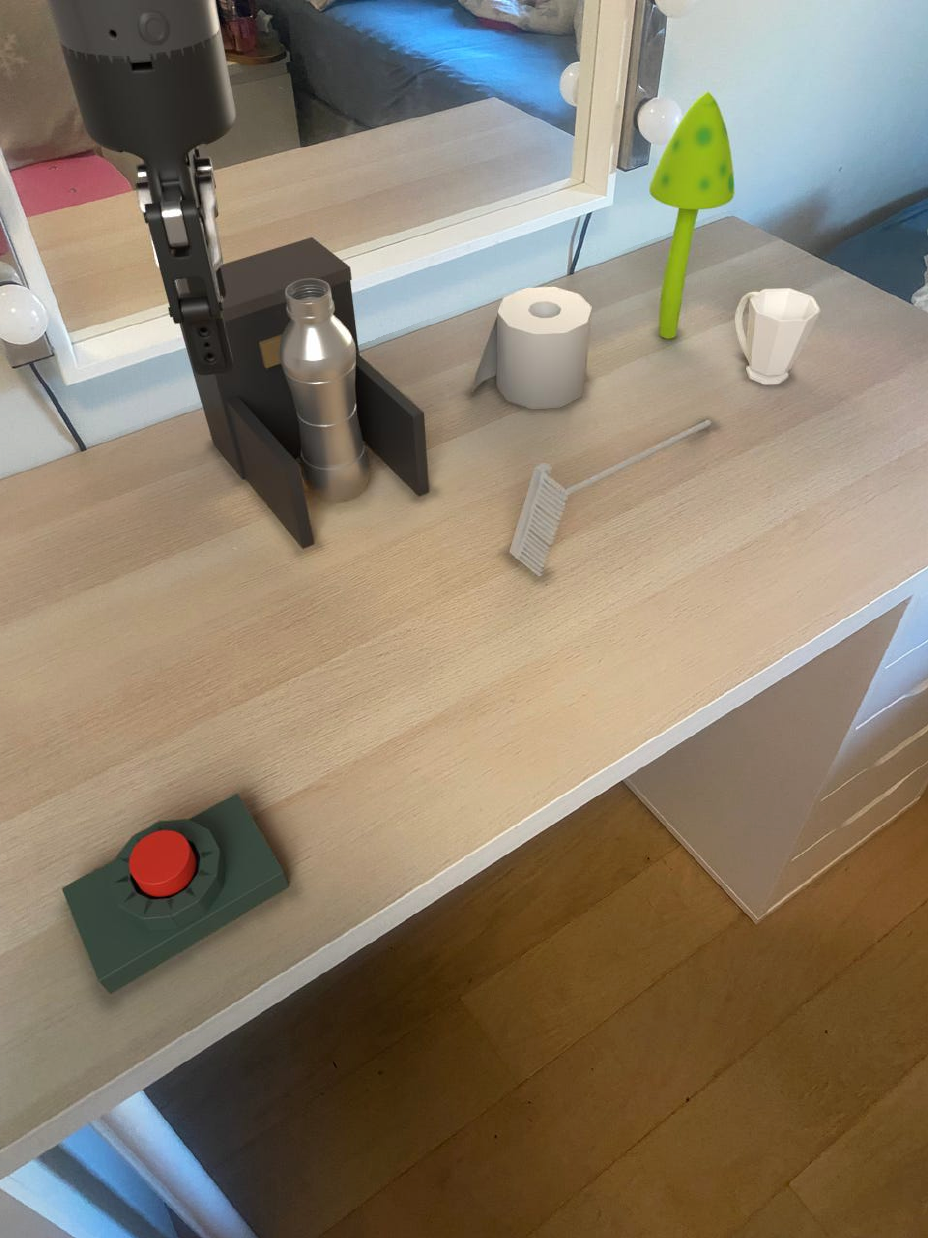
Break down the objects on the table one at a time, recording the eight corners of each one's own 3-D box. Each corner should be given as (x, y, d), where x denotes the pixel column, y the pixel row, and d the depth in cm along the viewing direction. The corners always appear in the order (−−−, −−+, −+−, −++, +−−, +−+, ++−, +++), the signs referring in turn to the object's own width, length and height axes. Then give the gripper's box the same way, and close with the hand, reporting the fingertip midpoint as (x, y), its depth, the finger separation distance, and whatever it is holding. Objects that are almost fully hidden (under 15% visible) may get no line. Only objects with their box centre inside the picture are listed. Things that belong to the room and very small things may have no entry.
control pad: (110, 995, 54) (88, 970, 51) (73, 903, 58) (50, 875, 55) (289, 887, 58) (278, 858, 55) (243, 809, 62) (231, 778, 59)
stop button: (149, 908, 53) (141, 895, 52) (128, 862, 55) (120, 849, 54) (205, 876, 55) (198, 863, 53) (183, 833, 57) (175, 819, 55)
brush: (716, 478, 92) (754, 400, 85) (538, 578, 76) (568, 492, 70) (688, 458, 94) (723, 380, 87) (508, 552, 78) (534, 466, 71)
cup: (759, 398, 93) (778, 328, 87) (704, 351, 99) (718, 282, 93) (814, 382, 95) (836, 311, 89) (757, 337, 101) (774, 268, 95)
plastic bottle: (303, 514, 82) (263, 314, 67) (306, 468, 87) (269, 271, 72) (373, 509, 83) (348, 309, 68) (372, 463, 87) (349, 266, 72)
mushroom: (713, 323, 103) (763, 82, 85) (694, 360, 98) (742, 112, 80) (643, 309, 106) (676, 71, 87) (620, 344, 101) (651, 100, 82)
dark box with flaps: (433, 490, 84) (423, 324, 71) (298, 551, 79) (262, 383, 66) (335, 396, 95) (312, 236, 82) (211, 443, 90) (165, 281, 77)
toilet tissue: (452, 395, 95) (449, 321, 88) (544, 350, 100) (548, 277, 94) (508, 434, 90) (510, 359, 83) (602, 385, 95) (610, 310, 89)
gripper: (67, -11, 47) (150, 284, 59) (43, 78, 37) (148, 407, 49) (213, -20, 48) (265, 271, 60) (225, 63, 38) (284, 389, 50)
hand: (212, 332), depth 54 cm, fingers open, 8 cm apart
